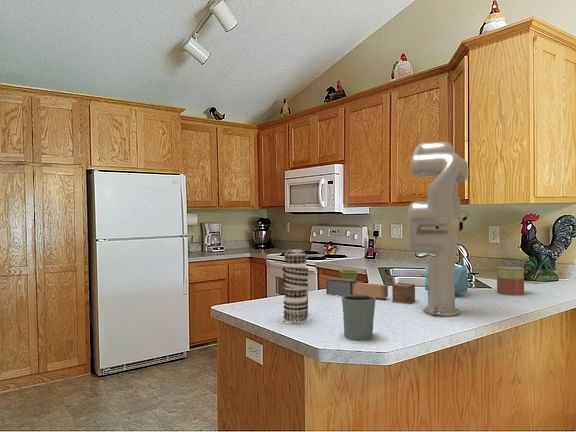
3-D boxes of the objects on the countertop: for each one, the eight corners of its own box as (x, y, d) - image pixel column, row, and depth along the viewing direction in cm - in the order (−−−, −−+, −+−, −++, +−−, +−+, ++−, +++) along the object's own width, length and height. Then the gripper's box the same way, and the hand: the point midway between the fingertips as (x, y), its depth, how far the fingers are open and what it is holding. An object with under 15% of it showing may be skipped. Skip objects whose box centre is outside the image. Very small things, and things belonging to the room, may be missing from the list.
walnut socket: (410, 304, 174) (410, 286, 174) (392, 302, 178) (392, 285, 178) (415, 301, 180) (415, 284, 180) (397, 299, 184) (397, 282, 184)
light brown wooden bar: (384, 298, 181) (384, 286, 181) (330, 292, 196) (330, 281, 196) (387, 296, 185) (387, 285, 185) (334, 291, 199) (334, 280, 199)
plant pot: (362, 287, 213) (362, 270, 213) (351, 290, 206) (351, 272, 206) (346, 285, 219) (346, 269, 219) (336, 288, 212) (335, 271, 212)
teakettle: (424, 297, 188) (424, 264, 188) (426, 290, 206) (426, 260, 206) (470, 300, 182) (470, 266, 181) (468, 292, 199) (468, 261, 199)
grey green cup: (336, 337, 127) (336, 298, 127) (349, 329, 136) (349, 292, 136) (368, 343, 122) (368, 301, 122) (380, 334, 130) (380, 295, 130)
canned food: (505, 290, 204) (505, 265, 204) (529, 294, 194) (529, 268, 194) (492, 293, 198) (491, 267, 197) (516, 296, 188) (516, 270, 188)
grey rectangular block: (350, 297, 189) (350, 281, 189) (326, 294, 195) (326, 279, 195) (356, 294, 195) (356, 279, 194) (333, 292, 201) (333, 277, 201)
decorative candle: (279, 323, 144) (278, 250, 144) (286, 317, 153) (286, 248, 153) (305, 325, 142) (304, 251, 141) (311, 318, 150) (310, 249, 150)
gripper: (429, 194, 194) (429, 231, 194) (469, 193, 188) (470, 231, 188) (429, 194, 201) (429, 230, 201) (468, 194, 195) (468, 231, 195)
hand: (449, 231), depth 194 cm, fingers open, 9 cm apart
